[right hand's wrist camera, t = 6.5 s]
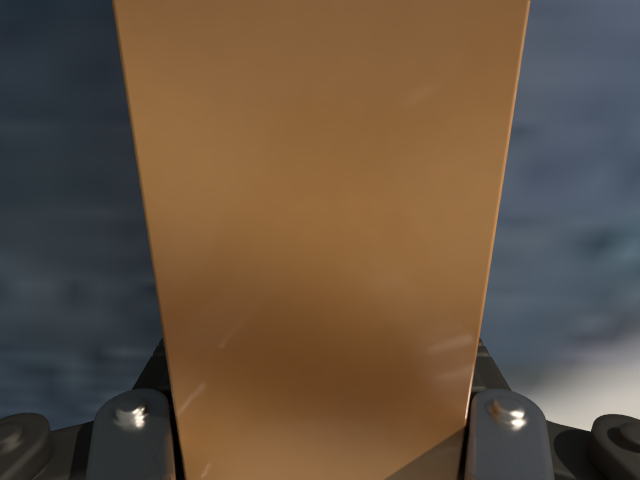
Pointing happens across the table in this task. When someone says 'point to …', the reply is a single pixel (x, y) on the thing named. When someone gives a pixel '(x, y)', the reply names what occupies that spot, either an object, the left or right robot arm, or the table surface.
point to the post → (321, 223)
